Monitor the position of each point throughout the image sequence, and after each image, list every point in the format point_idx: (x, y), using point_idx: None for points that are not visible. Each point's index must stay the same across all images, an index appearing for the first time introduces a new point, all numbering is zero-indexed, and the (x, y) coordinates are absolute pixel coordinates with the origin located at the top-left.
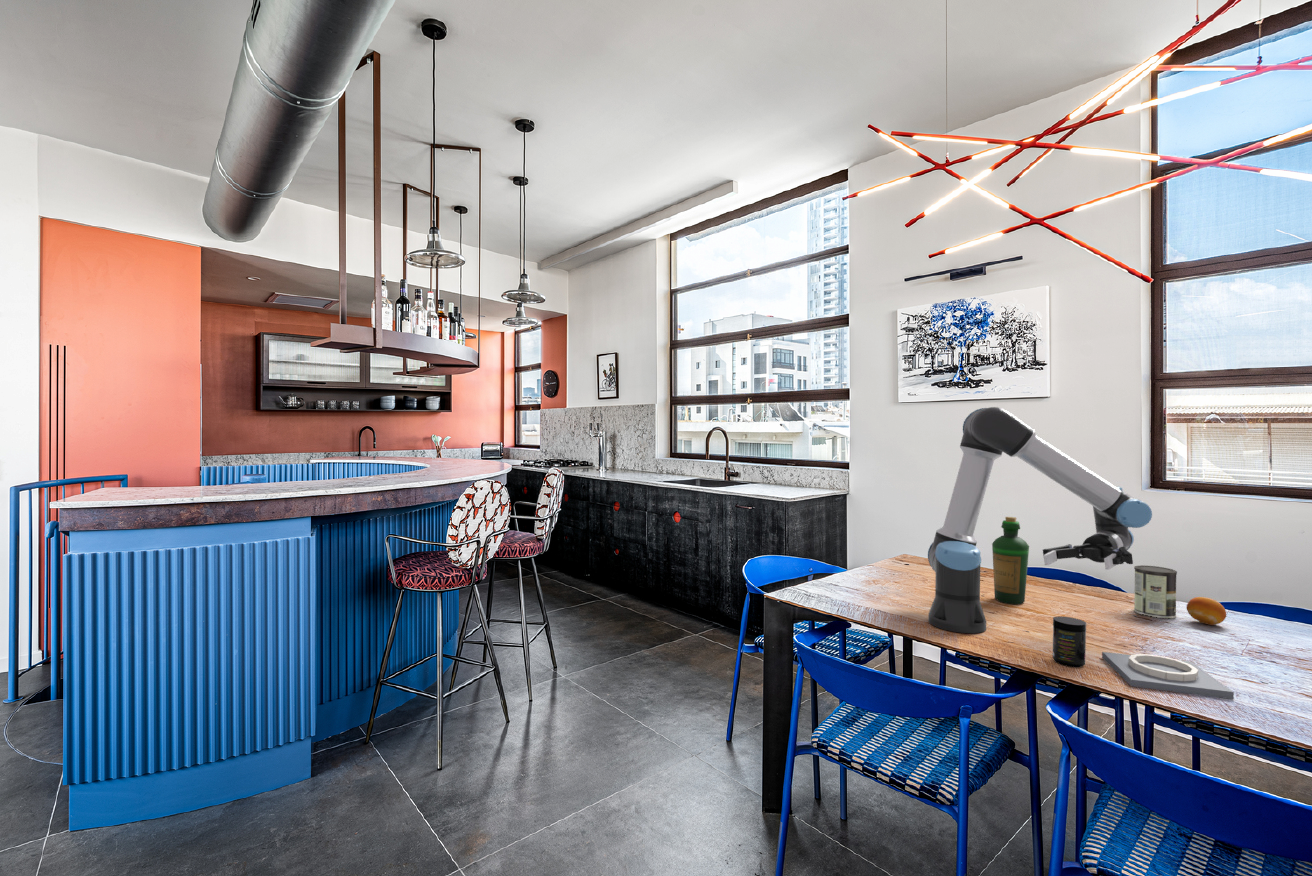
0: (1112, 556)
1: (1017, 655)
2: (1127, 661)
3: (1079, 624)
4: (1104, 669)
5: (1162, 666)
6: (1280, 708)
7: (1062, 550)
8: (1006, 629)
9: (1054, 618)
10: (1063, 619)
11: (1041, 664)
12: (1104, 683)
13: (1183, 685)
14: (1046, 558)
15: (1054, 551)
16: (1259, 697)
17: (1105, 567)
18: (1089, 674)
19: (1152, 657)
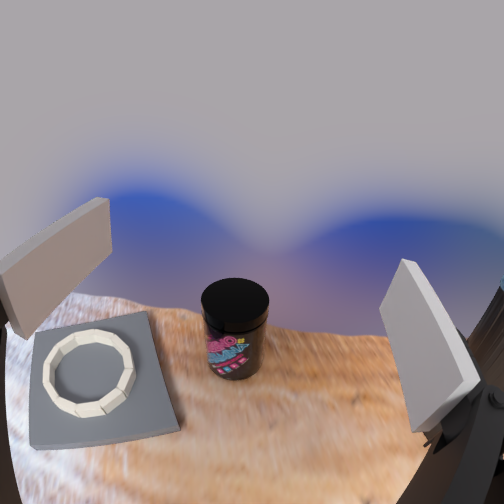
0: (42, 234)
1: (313, 341)
2: (135, 390)
3: (213, 286)
4: (177, 365)
5: (83, 393)
6: (8, 335)
7: (454, 462)
8: (402, 475)
9: (265, 295)
10: (247, 299)
11: (269, 327)
12: (181, 310)
13: (84, 324)
14: (397, 275)
15: (452, 354)
16: (8, 359)
17: (110, 243)
18: (200, 330)
19: (89, 403)
